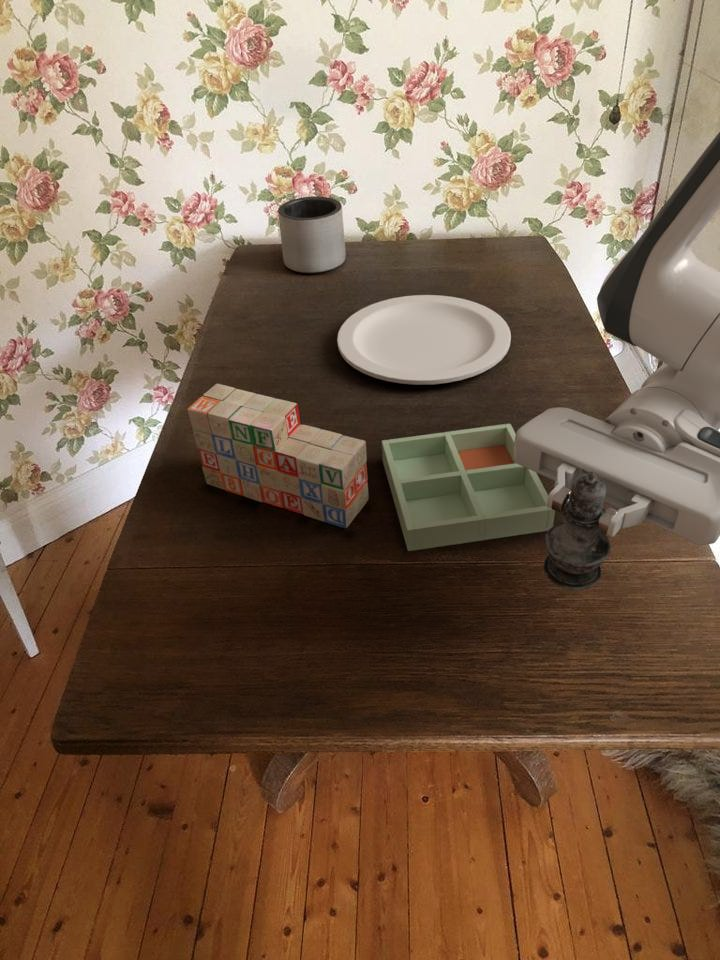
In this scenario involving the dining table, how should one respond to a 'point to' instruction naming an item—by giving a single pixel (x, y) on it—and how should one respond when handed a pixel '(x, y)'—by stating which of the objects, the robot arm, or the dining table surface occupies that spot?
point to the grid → (463, 488)
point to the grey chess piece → (578, 538)
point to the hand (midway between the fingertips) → (579, 516)
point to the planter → (312, 234)
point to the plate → (424, 339)
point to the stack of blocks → (278, 455)
